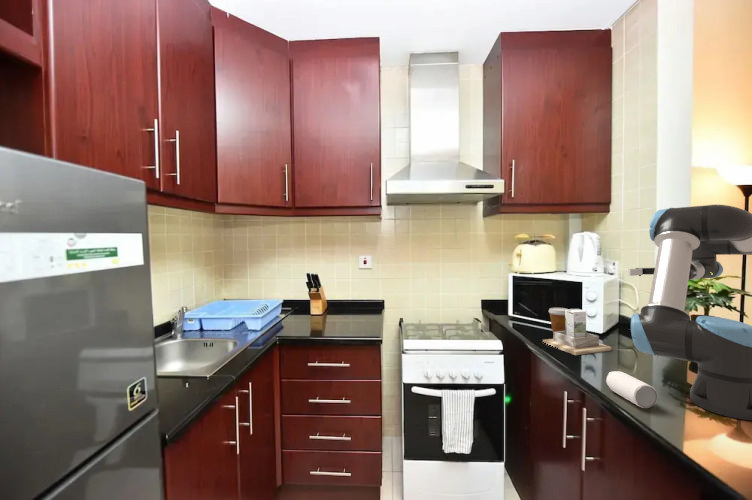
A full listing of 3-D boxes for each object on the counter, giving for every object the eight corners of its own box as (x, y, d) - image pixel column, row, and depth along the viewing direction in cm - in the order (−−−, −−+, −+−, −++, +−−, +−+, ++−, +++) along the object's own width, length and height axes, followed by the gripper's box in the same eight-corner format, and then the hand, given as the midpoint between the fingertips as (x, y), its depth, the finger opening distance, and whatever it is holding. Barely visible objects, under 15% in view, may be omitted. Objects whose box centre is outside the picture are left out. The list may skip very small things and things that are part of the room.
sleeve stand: (611, 350, 139) (611, 337, 139) (575, 355, 135) (575, 341, 135) (575, 339, 156) (575, 327, 156) (542, 343, 152) (542, 331, 152)
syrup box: (577, 340, 149) (576, 308, 148) (587, 344, 143) (586, 310, 143) (565, 341, 148) (564, 308, 148) (574, 345, 142) (573, 311, 142)
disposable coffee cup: (550, 335, 164) (550, 310, 164) (547, 330, 173) (546, 307, 173) (573, 336, 161) (572, 311, 161) (568, 331, 170) (567, 307, 170)
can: (633, 386, 91) (603, 370, 103) (635, 410, 91) (605, 391, 103) (657, 383, 91) (624, 368, 103) (659, 407, 91) (626, 389, 103)
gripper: (724, 283, 125) (682, 286, 120) (654, 277, 149) (616, 280, 144) (724, 262, 125) (681, 265, 120) (654, 260, 149) (616, 262, 144)
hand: (646, 273), depth 132 cm, fingers open, 13 cm apart
